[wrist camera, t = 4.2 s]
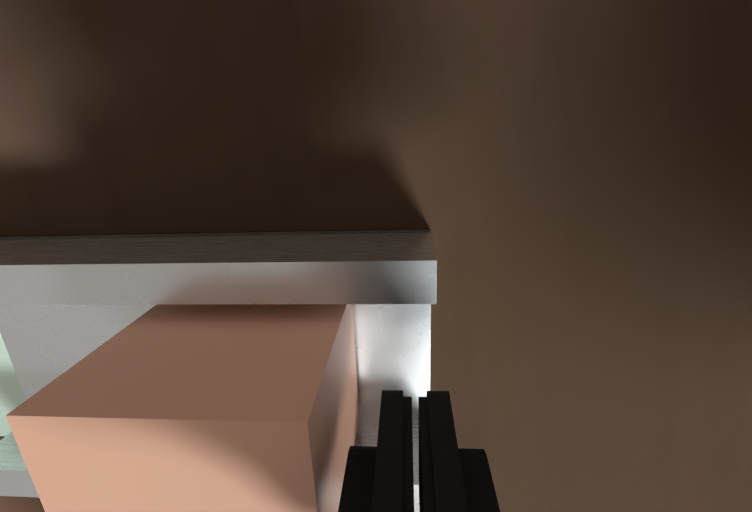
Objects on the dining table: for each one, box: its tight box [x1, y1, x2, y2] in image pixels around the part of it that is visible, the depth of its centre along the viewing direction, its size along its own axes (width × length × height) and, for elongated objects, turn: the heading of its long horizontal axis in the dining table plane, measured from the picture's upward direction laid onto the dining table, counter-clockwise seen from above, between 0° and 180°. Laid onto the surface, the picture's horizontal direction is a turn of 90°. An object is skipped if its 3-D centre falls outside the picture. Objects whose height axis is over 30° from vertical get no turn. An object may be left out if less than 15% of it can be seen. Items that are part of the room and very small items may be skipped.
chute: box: [0, 229, 437, 512], centre depth 13 cm, size 16×9×3 cm, turn 92°
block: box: [6, 304, 359, 512], centre depth 11 cm, size 6×5×6 cm
